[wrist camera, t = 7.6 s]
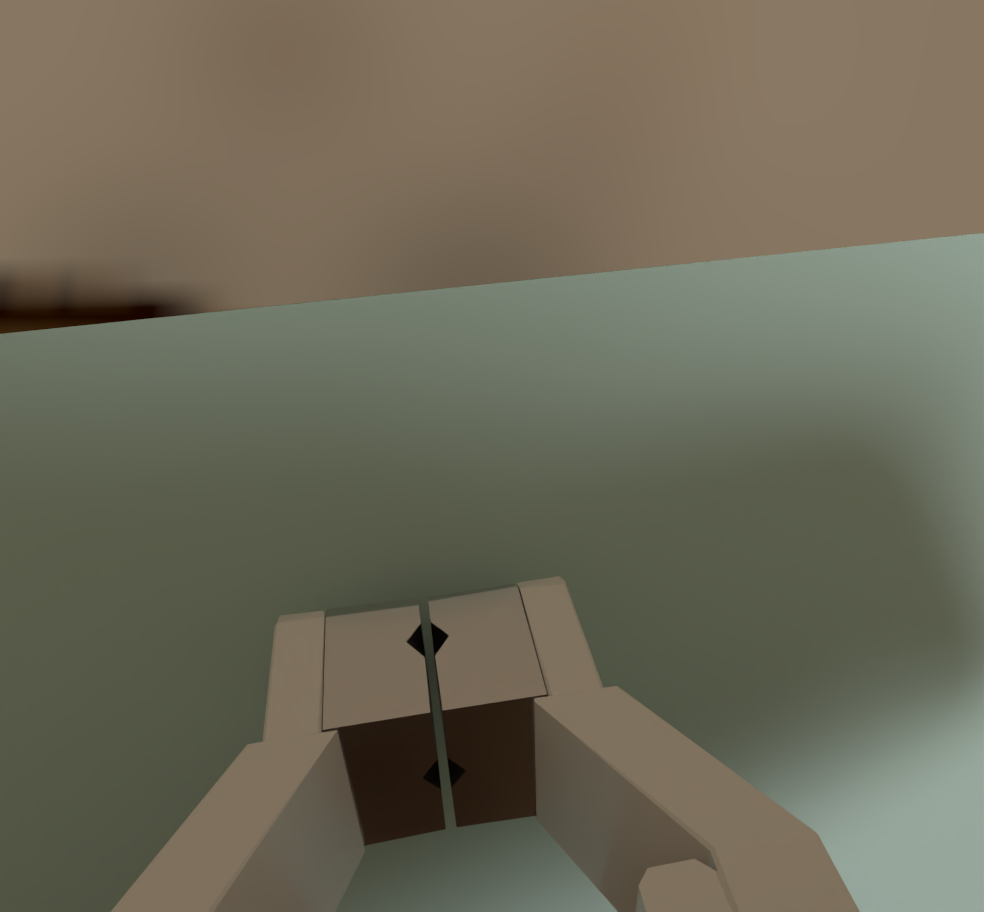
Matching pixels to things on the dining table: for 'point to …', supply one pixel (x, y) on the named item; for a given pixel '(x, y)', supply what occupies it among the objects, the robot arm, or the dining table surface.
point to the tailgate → (513, 549)
